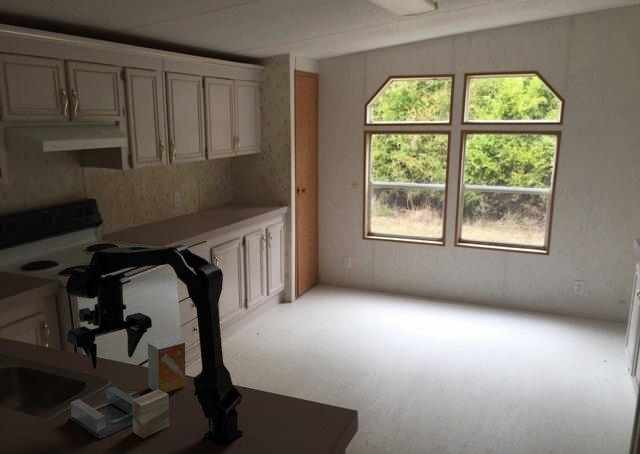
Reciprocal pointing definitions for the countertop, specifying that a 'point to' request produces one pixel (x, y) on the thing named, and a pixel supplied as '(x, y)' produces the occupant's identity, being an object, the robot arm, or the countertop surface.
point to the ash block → (150, 413)
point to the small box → (166, 364)
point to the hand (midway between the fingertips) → (112, 362)
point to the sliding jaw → (120, 399)
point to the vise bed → (110, 417)
